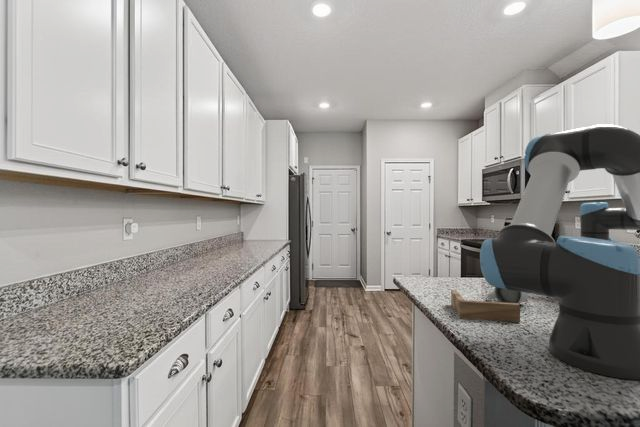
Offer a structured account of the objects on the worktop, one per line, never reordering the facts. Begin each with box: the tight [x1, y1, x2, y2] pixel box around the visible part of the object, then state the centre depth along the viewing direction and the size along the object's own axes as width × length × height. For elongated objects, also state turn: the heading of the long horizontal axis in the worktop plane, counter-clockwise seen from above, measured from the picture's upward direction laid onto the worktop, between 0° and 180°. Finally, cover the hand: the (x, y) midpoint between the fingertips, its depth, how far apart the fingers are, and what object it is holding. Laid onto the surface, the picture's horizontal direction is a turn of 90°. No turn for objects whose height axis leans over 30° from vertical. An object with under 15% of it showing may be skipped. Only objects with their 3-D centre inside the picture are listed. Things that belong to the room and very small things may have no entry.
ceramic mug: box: [486, 287, 529, 305], centre depth 95 cm, size 11×8×8 cm
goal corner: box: [450, 289, 521, 323], centre depth 88 cm, size 16×15×4 cm
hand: (528, 250), depth 98 cm, fingers open, 13 cm apart
